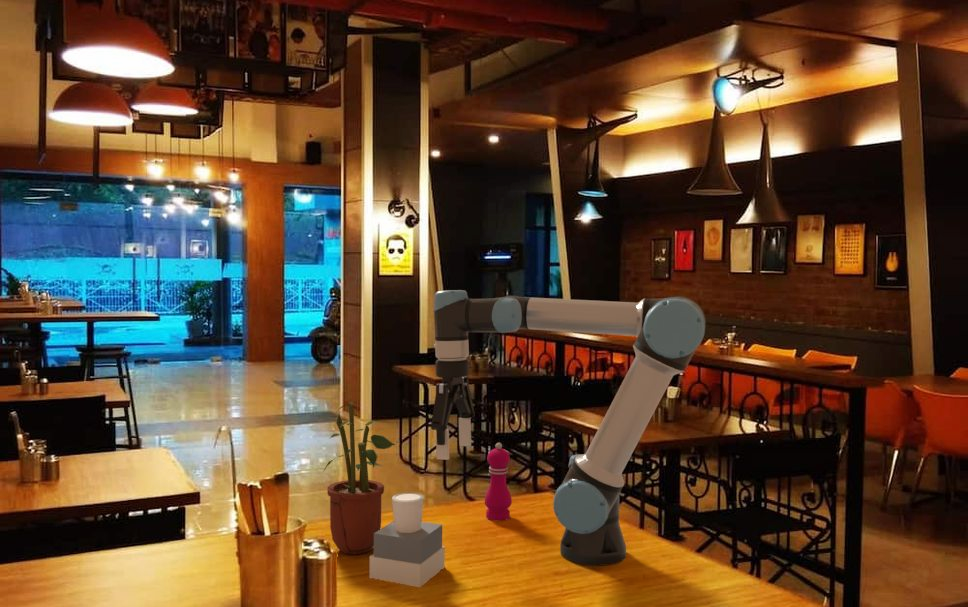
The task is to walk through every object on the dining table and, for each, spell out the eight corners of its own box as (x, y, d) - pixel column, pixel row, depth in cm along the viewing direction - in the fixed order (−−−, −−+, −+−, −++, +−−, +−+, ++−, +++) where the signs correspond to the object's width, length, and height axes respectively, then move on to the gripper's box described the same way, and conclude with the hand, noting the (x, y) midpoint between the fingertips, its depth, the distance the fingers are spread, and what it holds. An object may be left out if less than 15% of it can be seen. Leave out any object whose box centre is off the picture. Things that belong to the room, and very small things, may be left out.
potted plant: (368, 563, 178) (368, 408, 176) (307, 554, 183) (307, 403, 181) (400, 538, 194) (401, 396, 193) (344, 530, 199) (344, 392, 198)
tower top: (442, 546, 176) (442, 524, 175) (420, 564, 165) (420, 540, 165) (397, 540, 180) (397, 518, 179) (373, 556, 169) (373, 533, 169)
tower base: (444, 568, 176) (444, 546, 176) (419, 588, 165) (419, 565, 165) (396, 560, 181) (396, 538, 181) (369, 579, 170) (369, 556, 169)
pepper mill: (482, 520, 208) (483, 445, 207) (486, 512, 216) (487, 439, 215) (509, 522, 207) (510, 446, 206) (513, 514, 214) (514, 440, 213)
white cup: (409, 536, 168) (409, 503, 167) (385, 529, 172) (385, 497, 171) (430, 527, 173) (430, 495, 173) (406, 521, 177) (406, 490, 177)
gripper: (456, 352, 192) (459, 440, 193) (413, 364, 169) (416, 464, 169) (486, 353, 190) (488, 441, 190) (446, 365, 166) (449, 466, 167)
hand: (454, 452), depth 180 cm, fingers open, 13 cm apart
